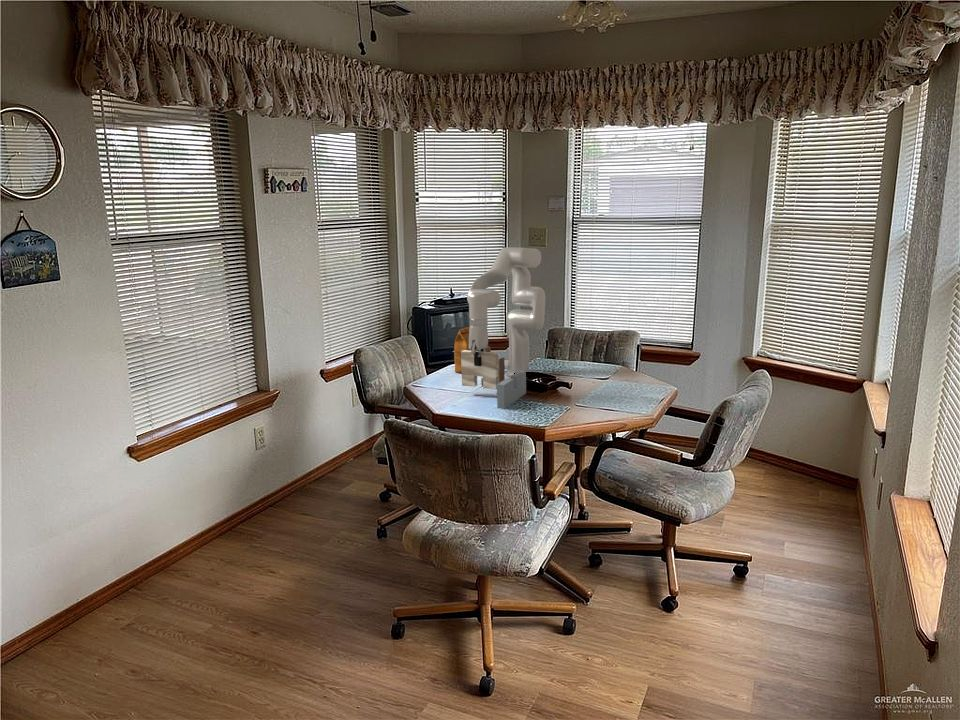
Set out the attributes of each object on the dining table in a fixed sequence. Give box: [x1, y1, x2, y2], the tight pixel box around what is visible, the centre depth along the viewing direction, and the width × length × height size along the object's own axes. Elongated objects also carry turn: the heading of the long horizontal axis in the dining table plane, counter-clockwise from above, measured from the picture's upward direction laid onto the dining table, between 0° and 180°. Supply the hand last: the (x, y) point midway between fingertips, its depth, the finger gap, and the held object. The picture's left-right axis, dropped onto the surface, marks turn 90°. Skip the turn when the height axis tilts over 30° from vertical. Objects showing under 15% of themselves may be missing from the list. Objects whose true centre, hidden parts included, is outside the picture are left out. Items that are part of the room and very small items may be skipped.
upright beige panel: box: [461, 350, 499, 390], centre depth 286 cm, size 3×16×15 cm, turn 65°
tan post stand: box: [480, 345, 506, 387], centre depth 301 cm, size 4×11×18 cm, turn 52°
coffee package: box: [453, 326, 477, 374], centre depth 328 cm, size 10×12×22 cm
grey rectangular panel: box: [496, 370, 527, 410], centre depth 281 cm, size 24×3×10 cm, turn 155°
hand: (479, 364), depth 285 cm, fingers closed on upright beige panel, 3 cm apart
